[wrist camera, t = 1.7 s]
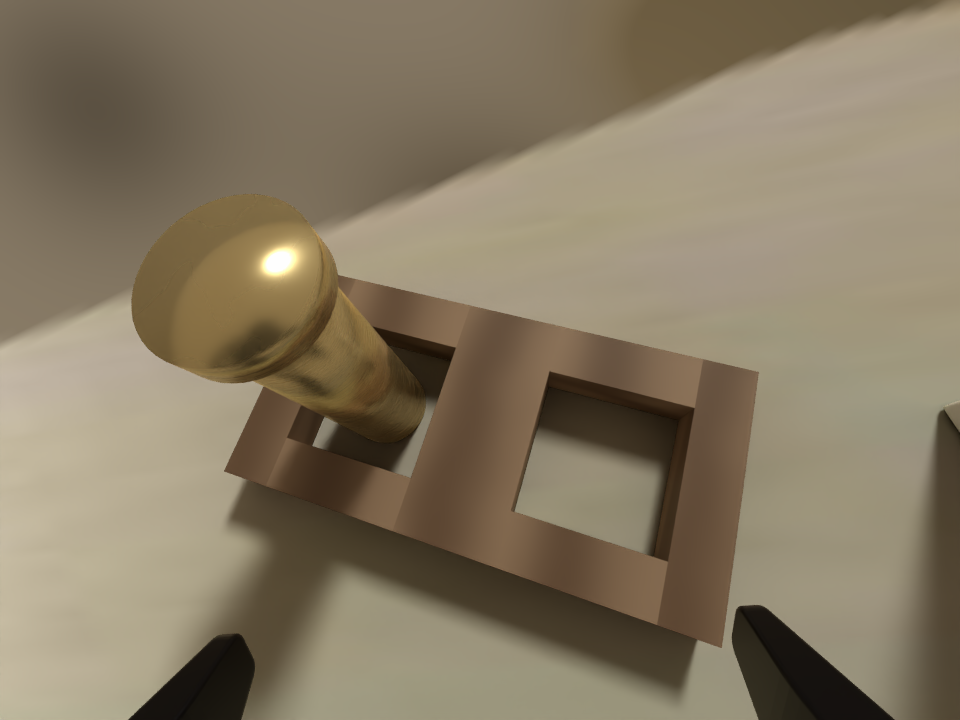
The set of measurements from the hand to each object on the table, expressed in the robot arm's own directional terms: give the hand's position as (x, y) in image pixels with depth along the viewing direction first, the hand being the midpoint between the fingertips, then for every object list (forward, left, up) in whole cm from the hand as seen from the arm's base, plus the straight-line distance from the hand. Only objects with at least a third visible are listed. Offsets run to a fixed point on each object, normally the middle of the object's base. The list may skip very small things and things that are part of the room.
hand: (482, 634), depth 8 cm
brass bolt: (+3, +10, -13) cm, 17 cm away
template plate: (+4, +4, -13) cm, 15 cm away
